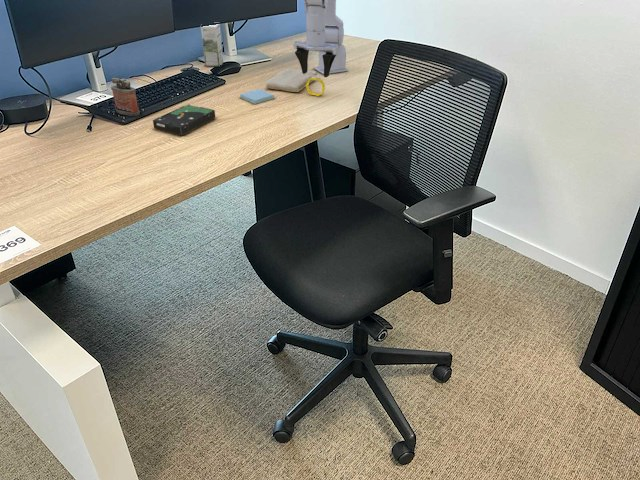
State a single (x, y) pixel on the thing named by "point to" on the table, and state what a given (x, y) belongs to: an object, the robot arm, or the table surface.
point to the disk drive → (184, 119)
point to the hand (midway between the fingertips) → (315, 74)
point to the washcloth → (290, 80)
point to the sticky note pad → (257, 96)
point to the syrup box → (212, 45)
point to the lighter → (125, 97)
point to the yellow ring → (319, 81)
